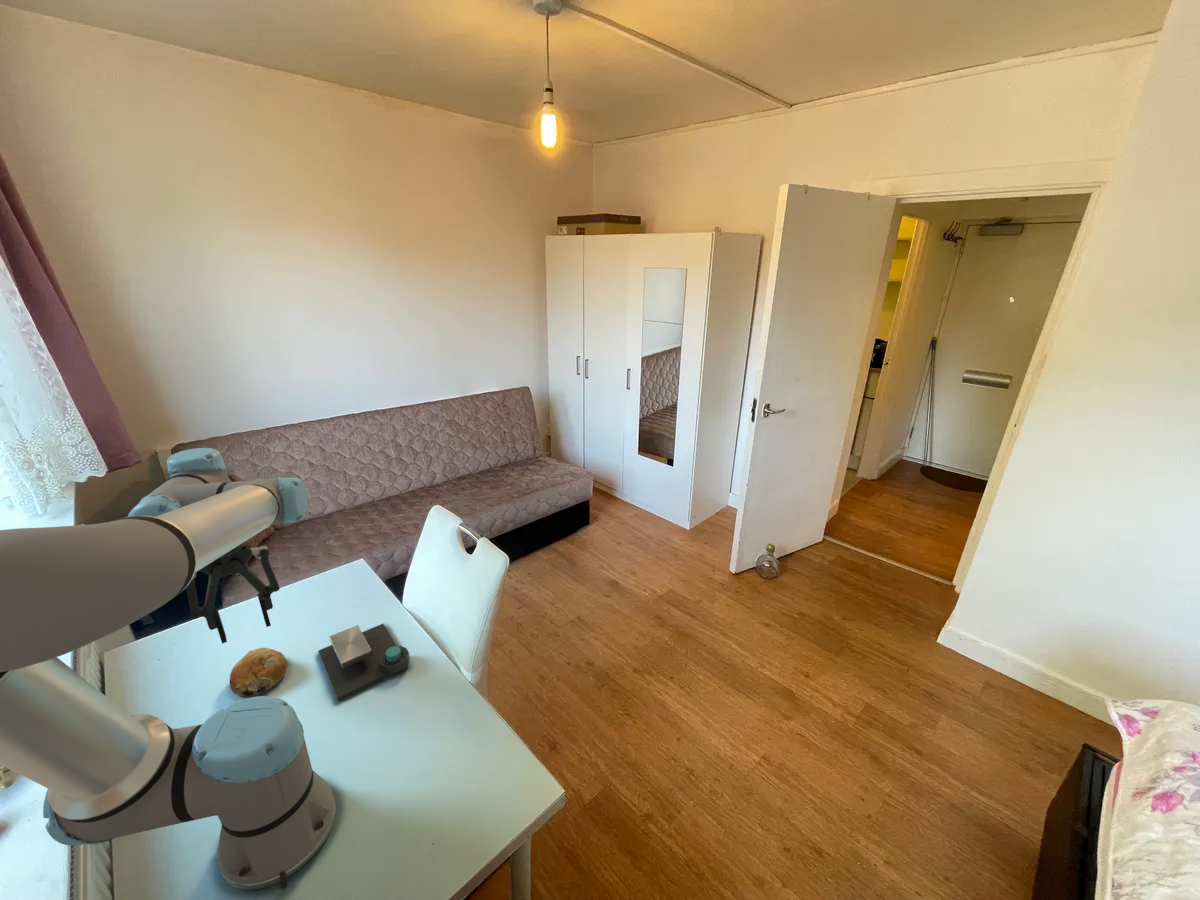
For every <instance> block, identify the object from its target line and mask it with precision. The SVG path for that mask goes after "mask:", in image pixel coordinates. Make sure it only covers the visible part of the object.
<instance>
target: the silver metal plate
mask: <svg viewBox="0 0 1200 900" xmlns="http://www.w3.org/2000/svg"><path fill="white" fill-rule="evenodd" d="M362 632H363V631H362V630H361V628H360V626H359V625H358V624H357V625H354V626H351V627H349V628H347V629H344V630H342V631H339V632H336V633H334V634H332V635H330V636H329V637H328V638H329V642H330V644H331V645H332V647H333V649H334V651H335V653H336V656H337V658H338V660H339V662H340V665H341V667H342V669H344V668H346V667H348V666H350V665H353V664H355V663H357V662H359V661H361V660H364V659H366V658H368V657H370V656H372V650H371V649H370V647H369V645H368V643H367V641H366V639H365V637H364V635H363V634H362Z"/></svg>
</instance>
